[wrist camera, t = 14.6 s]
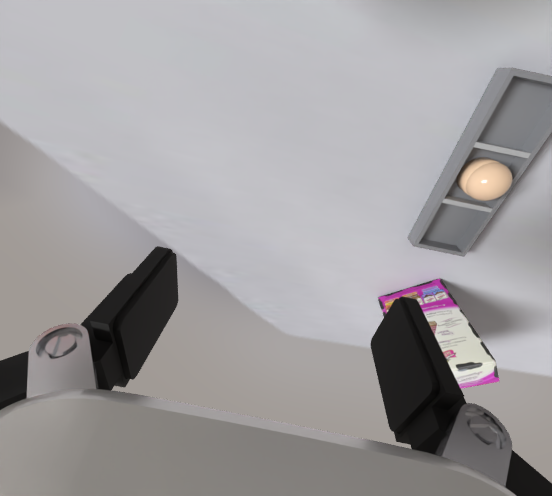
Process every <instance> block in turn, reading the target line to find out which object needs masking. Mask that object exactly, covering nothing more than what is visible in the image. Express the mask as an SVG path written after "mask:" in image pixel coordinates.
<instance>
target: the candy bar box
mask: <svg viewBox="0 0 552 496" xmlns="http://www.w3.org/2000/svg"><path fill="white" fill-rule="evenodd" d="M401 296H403V297H408V298H413V299H416V300H417V301H418V302H419V304H420V306H421V308H422V310H423V313H424V315H425V317H426V319H427V321H428V323H429V325H430V327H431V329H432V331H433V333H434V335H435V337H436V339H437V341H438V343H439V345H440V347H441V350H442V352H443V354H444V356H445V358H446V360H447V362H448V364H449V366H450V368H451V370H452V372H453V374H454V376H455V378H456V380H457V382H458V384H459V387H460V389H461V388H467V387H472V386H478V385H483V384H489V383H494V382H499V377H498V372H497V367H496V361H495V359H494V358H493V357H492V355H491V354H490V352H489V350H488V349H487V347H486V346H485V344H484V343H483V342H482V340H481V339H480V337H479V336H478V334H477V333H476V331H475V330H474V328H473V327H472V325H471V324H470V322H469V321H468V319H467V318H466V316H465V315H464V313H463V312H462V310H461V309H460V307H459V306H458V305H457V303H456V301H455V300H454V298H453V297H452V295H451V294H450V292H449V291H448V290H447V288H446V286H445V285H444V283H443V282H442V280H441V279H436V280H433V281H430V282H426V283H423V284H420V285H417V286H414V287H410V288H407V289H404V290H401V291H398V292H395V293H391V294H388V295H385V296H381V297H378V300H379V303H380V306H381V309H382V313H383V316H384V317H385V315H386V314H387V312H388V310H389V309H390V307H391V305H392V303H393V302H394V300H395V299H399V298H400V297H401Z"/></svg>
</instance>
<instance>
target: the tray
mask: <svg viewBox="0 0 552 496" xmlns="http://www.w3.org/2000/svg"><path fill="white" fill-rule="evenodd" d="M551 132H552V76H549V75H544V74H539V73H535V72H530V71H525V70H520V69H516V68H497V70H496V72H495V74H494V76H493V77H492V79H491V81H490V83H489V85H488V87H487V89H486V91H485V93H484V94H483V96H482V98H481V100H480V102H479V104H478V106H477V108H476V109H475V111H474V113H473V115H472V117H471V119H470V121H469V123H468V125H467V126H466V128H465V130H464V132H463V134H462V136H461V138H460V140H459V142H458V143H457V145H456V147H455V149H454V151H453V153H452V155H451V157H450V159H449V160H448V162H447V164H446V166H445V168H444V170H443V172H442V174H441V176H440V177H439V179H438V181H437V183H436V185H435V187H434V189H433V191H432V193H431V194H430V196H429V198H428V200H427V202H426V204H425V206H424V208H423V210H422V211H421V213H420V215H419V217H418V219H417V221H416V223H415V225H414V227H413V228H412V230H411V232H410V234H409V236H408V239H409V240H410V242H411V244H412V245H413V246H415V247H420V248H425V249H429V250H434V251H439V252H444V253H449V254H454V255H459V256H463V257H464V256H465V255H466V253H467V252H468V251H469V249H470V248H471V246H472V245H473V243H474V242H475V241H476V239H477V238H478V236H479V235H480V233H481V232H482V231H483V229H484V228H485V226H486V225H487V224H488V222H489V221H490V219H491V218H492V216H493V215H494V214H495V212H496V211H497V209H498V208H499V206H500V205H501V204H502V202H503V201H504V199H505V198H506V196H507V195H508V194H509V192H510V191H511V189H512V188H513V186H514V185H515V184H516V182H517V181H518V179H519V178H520V177H521V175H522V174H523V172H524V171H525V169H526V168H527V167H528V165H529V164H530V162H531V161H532V159H533V158H534V157H535V155H536V154H537V152H538V151H539V149H540V148H541V147H542V145H543V144H544V142H545V141H546V139H547V138H548V137H549V135H550V134H551ZM479 157H488V158H491V159H493V160H495V161H497V162H499V163H502V164H504V165H505V166H507V167H508V168H509V169H510V171H511V173H512V184H511V186H510V188H509V189H508V191H507V192H506V193H505V194H503V195H502V196H500V197H498V198H496V199H493V200H488V201H481V200H476V199H474V198H472V197H470V196H469V195H468V194H466V193H465V192H464V191H462V190H461V189H460V188H459V187H458V185H457V175H458V173H459V172H460V170H461V168H462V167H463V166H464V165H465V164H466V163H467V162H469V161H471V160H473V159H475V158H479Z"/></svg>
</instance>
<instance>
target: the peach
mask: <svg viewBox="0 0 552 496" xmlns="http://www.w3.org/2000/svg"><path fill="white" fill-rule="evenodd" d="M511 184H512V173H511V171H510V169H509V168H508V167H507V166H505V165H504V164H502V163H499V162H497V161H495V160H493V159H491V158H488V157H479V158H475V159H473V160H471V161H469V162H467V163H466V164H465V165H464V166H463V167H462V168H461V170H460V172H459V173H458V175H457V185H458V187H459V188H460V189H461V190H462V191H464V192H465V193H466V194H468V195H469V196H470V197H472V198H474V199H476V200H481V201H488V200H493V199H496V198H498V197H500V196H502V195H503V194H505V193H506V192H507V191H508V189H509V188H510V186H511Z"/></svg>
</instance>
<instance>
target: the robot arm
mask: <svg viewBox="0 0 552 496" xmlns="http://www.w3.org/2000/svg"><path fill="white" fill-rule="evenodd" d="M177 284H178V283H177V261H176V254H175V253H173V252H172V250H171V249H168V248H163V247H156V248H155V249H154V250H153V251H152V252H151V253H150V254H149V255H148V256H147V257H146V259H145V260H144V261H143V262H142V263H141V264H140V265H139V267H137V269H136V270H135V271H134V272H133V273H132V274H131V273H130V274H127V275H126V276H125V277H124V278H123V279H122V280H121V281H120V282H119V283H118V285H117V286H116V287H115V288H114V289H113V290H112V291H111V292H110V293H109V295H107V297H106V298H105V299H104V300H103V301H102V302H101V303H100V304H99V305H98V306H97V307H96V308H95V310H94V311H93V312H92V313H91V314H90V315H89V316H88V317H87V318H86V319H85V320H84V322H83V323H82V324H81V325H78V324H70V323H68V324H62V325H58V326H55V327H53V328H50V329H49V330H47V331H45V332H43V333H42V334H41V335H39V336H38V337H37V338H36V339H35V340H34V341H33V343H32V344H31V346H30V349H29V351H27V352H24V353H21V354H18V355H15V356H13V357H10V358H7V359H4V360H1V361H0V496H552V483H550V482H549V481H548V480H547V479H546V478H544V477H543V476H542V475H541V474H540V473H539V472H537V471H536V470H535V469H534V468H533V467H531V466H530V465H529V464H528V463H527V462H526V461H524V460H523V459H522V458H521V457H520V456H519V455H517V454H516V453H515V452H514V451H513V450H512V441H511V438H510V436H509V433H508V432H507V430H506V429H505V427H504V425H503V424H502V423H501V422H500V421H499V420H498V419H497V418H496V417H495V416H494V415H493V414H492V413H491V412H489V411H488V410H486V409H485V408H483V407H481V406H479V405H476V404H472V403H466V401H465V399H464V397H463V396H464V395H463V393H462V391H461V389H460V387H459V384H458V382H457V380H456V378H455V376H454V374H453V372H452V370H451V368H450V366H449V364H448V362H447V360H446V358H445V356H444V354H443V352H442V350H441V347H440V345H439V343H438V341H437V339H436V337H435V335H434V333H433V331H432V329H431V327H430V325H429V323H428V321H427V319H426V317H425V315H424V313H423V310H422V308H421V306H420V304H419V302H418V301H417V300H416V299H413V298H408V297H403V296H401V297H400V298H399V299H395V300H394V302H393V303H392V305H391V307H390V309H389V310H388V312H387V314H386V315H385V317H384V319H383V320H382V322H381V324H380V326H379V327H378V329H377V331H376V332H375V334H374V336H373V338H372V340H371V349H372V354H373V358H374V362H375V367H376V371H377V375H378V380H379V384H380V388H381V393H382V397H383V402H384V406H385V410H386V415H387V419H388V423H389V427H390V429H391V430H392V431H393V432H394V434H395V438H396V441H397V442H401V443H407V444H411V448H412V449H409V448H404V447H399V446H395V445H391V444H386V443H382V442H377V441H371V440H367V439H362V438H357V437H352V436H348V435H343V434H338V433H332V432H328V431H323V430H318V429H313V428H308V427H303V426H298V425H293V424H288V423H283V422H278V421H273V420H268V419H263V418H258V417H253V416H248V415H243V414H238V413H233V412H228V411H223V410H217V409H212V408H206V407H202V406H196V405H192V404H186V403H181V402H176V401H171V400H165V399H159V398H154V397H148V396H143V395H137V394H131V393H125V392H118V391H111V390H112V388H113V387H114V385H115V386H120V387H126V385H127V383H128V381H129V380H130V379H134V378H135V377H136V376H137V374H138V373H139V371H140V369H141V367H142V365H143V364H144V362H145V360H146V359H147V357H148V355H149V353H150V352H151V350H152V348H153V346H154V345H155V343H156V341H157V340H158V338H159V336H160V334H161V332H162V331H163V329H164V327H165V326H166V324H167V322H168V320H169V319H170V317H171V315H172V314H173V312H174V310H175V308H176V306H177V303H178V285H177Z"/></svg>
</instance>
